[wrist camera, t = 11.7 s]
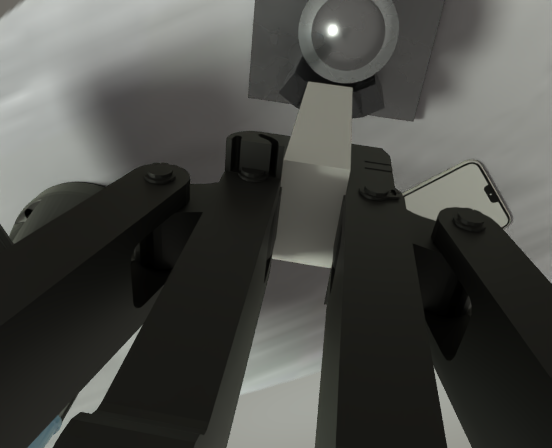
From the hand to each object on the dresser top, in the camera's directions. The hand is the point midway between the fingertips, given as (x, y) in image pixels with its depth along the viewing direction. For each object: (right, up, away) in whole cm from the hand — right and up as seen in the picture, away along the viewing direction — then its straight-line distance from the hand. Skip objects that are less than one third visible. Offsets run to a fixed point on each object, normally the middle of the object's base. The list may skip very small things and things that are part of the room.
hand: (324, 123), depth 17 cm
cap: (+3, +11, +18) cm, 21 cm away
